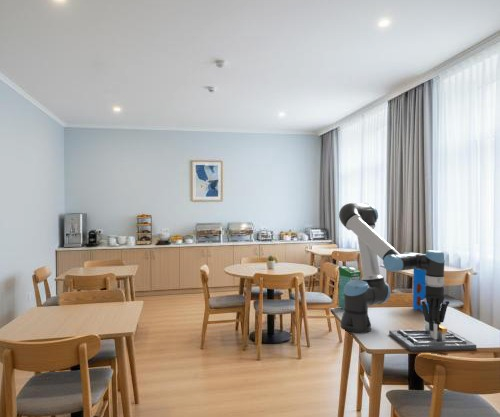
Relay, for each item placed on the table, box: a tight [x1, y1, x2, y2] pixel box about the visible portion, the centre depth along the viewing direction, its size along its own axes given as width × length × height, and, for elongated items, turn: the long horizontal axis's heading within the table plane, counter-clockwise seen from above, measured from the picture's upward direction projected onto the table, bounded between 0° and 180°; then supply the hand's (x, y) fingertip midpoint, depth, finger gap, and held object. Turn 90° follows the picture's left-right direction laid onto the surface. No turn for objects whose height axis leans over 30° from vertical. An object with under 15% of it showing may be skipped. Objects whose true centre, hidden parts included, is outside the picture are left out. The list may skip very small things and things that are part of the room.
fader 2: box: [437, 324, 448, 341], centre depth 164 cm, size 2×5×6 cm, turn 5°
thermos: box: [412, 269, 429, 313], centre depth 221 cm, size 11×11×25 cm
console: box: [388, 328, 477, 352], centre depth 168 cm, size 30×20×3 cm
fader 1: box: [423, 318, 435, 334], centre depth 173 cm, size 2×5×6 cm, turn 5°
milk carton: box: [338, 265, 362, 309], centre depth 222 cm, size 9×9×25 cm
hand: (433, 337), depth 163 cm, fingers closed
